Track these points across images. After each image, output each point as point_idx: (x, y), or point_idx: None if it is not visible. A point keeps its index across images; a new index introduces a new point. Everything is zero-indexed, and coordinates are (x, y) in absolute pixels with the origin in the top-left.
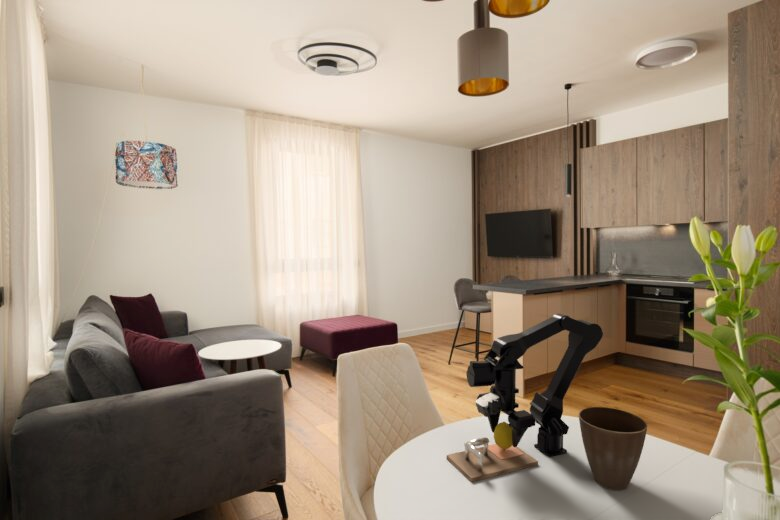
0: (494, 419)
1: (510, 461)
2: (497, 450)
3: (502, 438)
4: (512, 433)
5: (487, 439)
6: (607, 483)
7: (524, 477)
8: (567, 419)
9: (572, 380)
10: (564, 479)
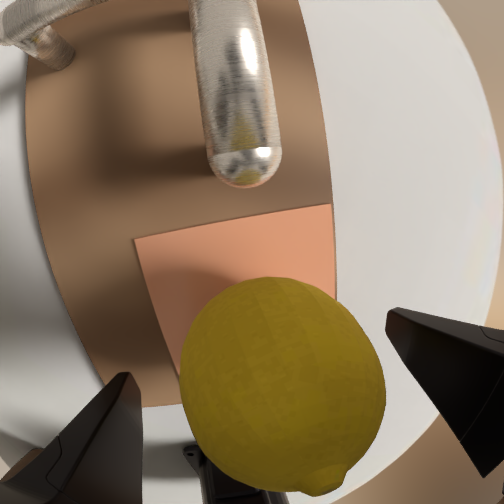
0: (455, 380)
1: (112, 289)
2: (254, 268)
3: (195, 348)
4: (63, 460)
5: (221, 157)
6: (24, 456)
7: (21, 290)
8: (357, 483)
9: None
10: (40, 408)
